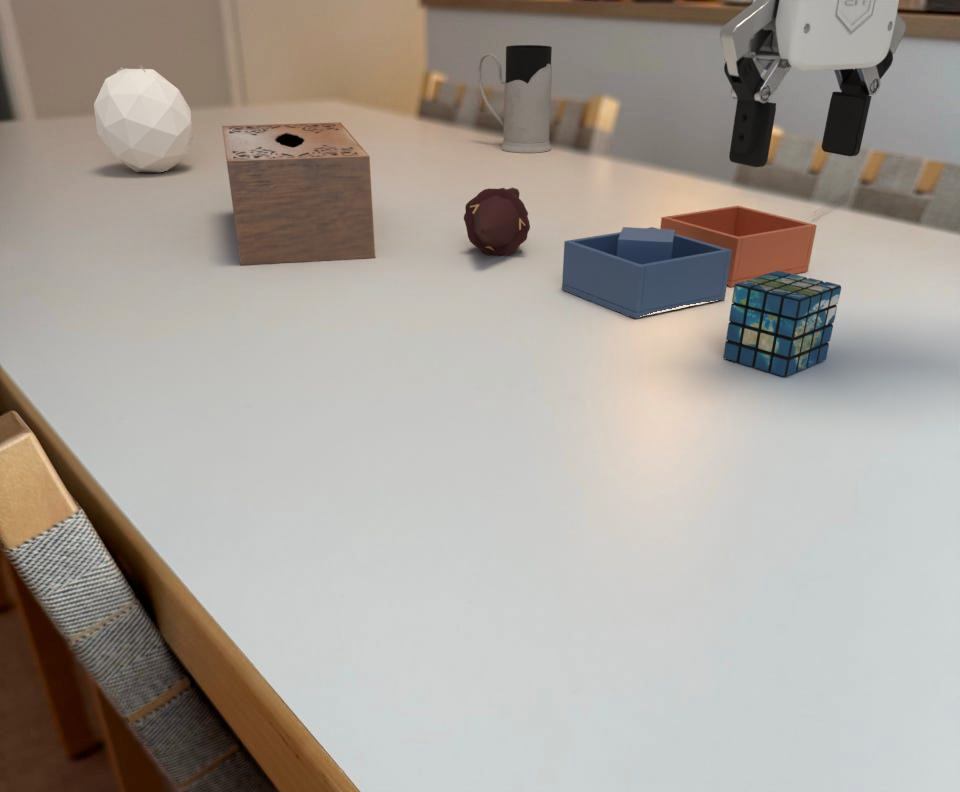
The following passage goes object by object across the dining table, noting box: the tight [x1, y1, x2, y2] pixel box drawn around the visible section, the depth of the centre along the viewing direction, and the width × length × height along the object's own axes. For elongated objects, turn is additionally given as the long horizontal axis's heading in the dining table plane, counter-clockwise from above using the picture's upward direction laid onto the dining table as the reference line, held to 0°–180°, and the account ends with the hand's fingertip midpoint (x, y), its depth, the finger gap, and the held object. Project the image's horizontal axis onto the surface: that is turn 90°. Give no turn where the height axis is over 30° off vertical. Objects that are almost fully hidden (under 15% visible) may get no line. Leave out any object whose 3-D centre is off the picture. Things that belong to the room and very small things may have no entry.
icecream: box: [463, 187, 531, 257], centre depth 104 cm, size 7×7×15 cm
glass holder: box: [477, 44, 553, 154], centre depth 162 cm, size 9×14×15 cm, turn 57°
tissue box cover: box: [221, 122, 376, 266], centre depth 111 cm, size 26×14×10 cm, turn 13°
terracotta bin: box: [659, 205, 818, 288], centre depth 101 cm, size 11×11×5 cm
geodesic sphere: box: [93, 63, 193, 173], centre depth 143 cm, size 15×14×14 cm
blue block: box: [617, 226, 675, 265], centre depth 92 cm, size 5×5×5 cm
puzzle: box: [723, 271, 842, 378], centre depth 77 cm, size 6×6×6 cm
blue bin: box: [561, 226, 732, 319], centre depth 92 cm, size 11×11×5 cm
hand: (794, 158), depth 71 cm, fingers open, 9 cm apart
